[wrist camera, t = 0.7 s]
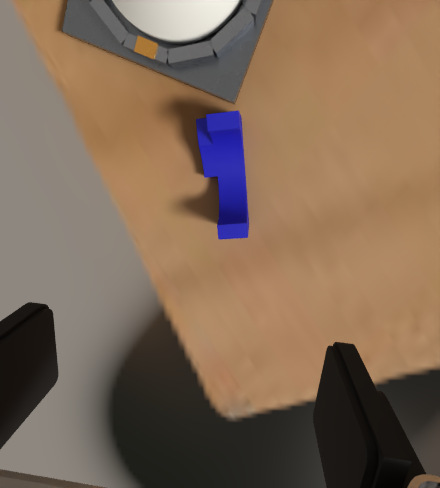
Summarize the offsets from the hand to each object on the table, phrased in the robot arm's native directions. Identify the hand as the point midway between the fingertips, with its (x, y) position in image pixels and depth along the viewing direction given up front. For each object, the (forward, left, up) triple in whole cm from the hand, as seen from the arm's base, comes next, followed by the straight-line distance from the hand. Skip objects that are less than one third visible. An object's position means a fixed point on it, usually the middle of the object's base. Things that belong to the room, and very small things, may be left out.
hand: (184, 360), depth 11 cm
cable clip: (-3, -2, -29) cm, 29 cm away
